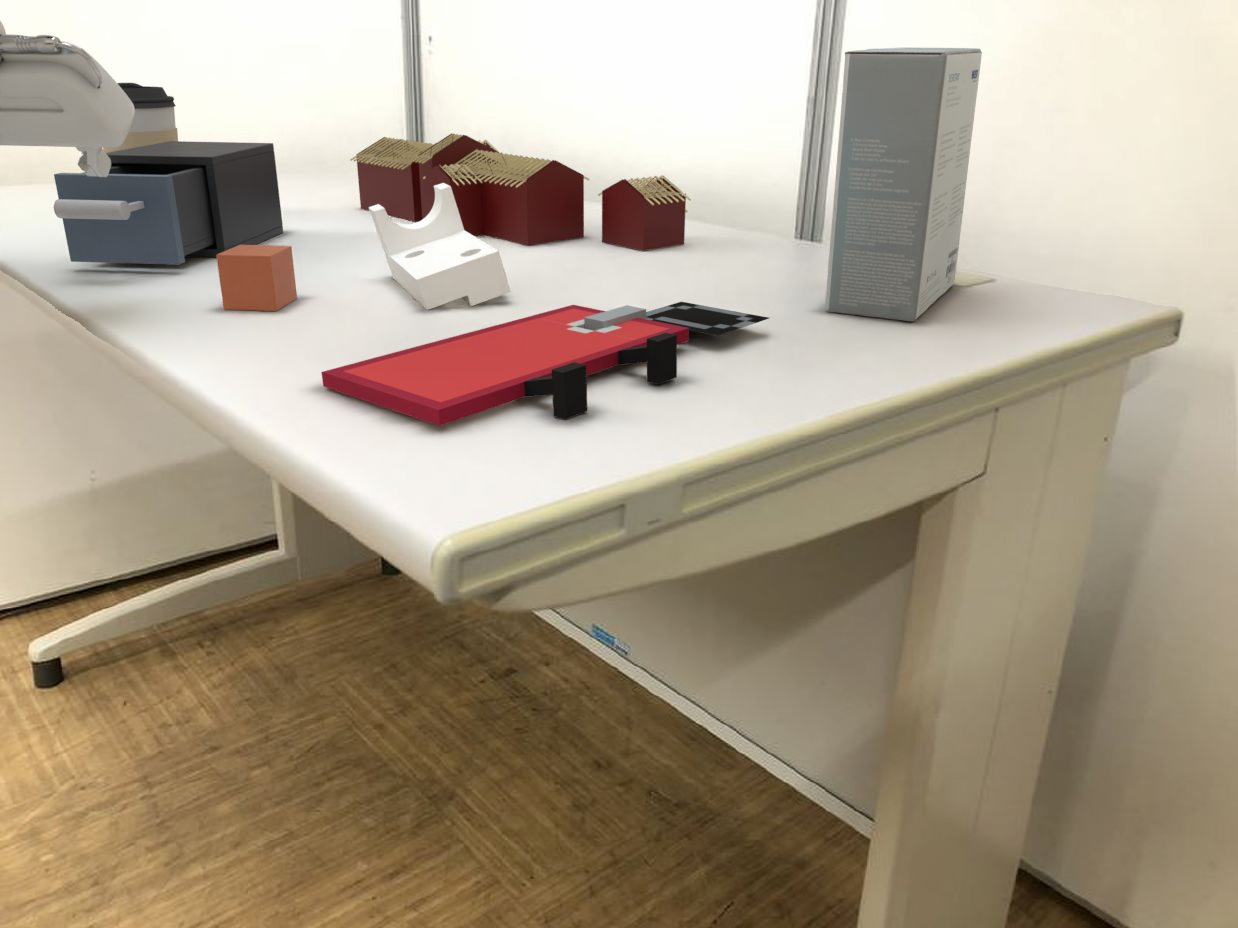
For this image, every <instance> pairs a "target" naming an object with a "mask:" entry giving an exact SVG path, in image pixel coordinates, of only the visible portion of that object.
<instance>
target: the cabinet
mask: <svg viewBox="0 0 1238 928" xmlns="http://www.w3.org/2000/svg"><path fill="white" fill-rule="evenodd" d="M274 147H275V146H274V143H273V142H232V141H230V142H229V141H227V142H226V141H179V140H178V141H169V142H164V143H158V144H153V145H147V146H142V147H136V148H130V149H125V150H119V151H114V152H108V153H106V154H107V155H108V157H109V158H110V160H111V167H113V166H118V165H122V164H165V165H206V172H207V179H208V186H209V193H210V200H211V208H212V215H213V222H214V229H215V236H216V243H215V244H213V245H210V246H208V247H205V248H203V249H200V250H198V251H195V252H193V253H190V254H188V255H185V256H184V257H186V258H187V257H189V258H191V257H192V258H195V257H196V258H217V257H216V255H217V254H219V253H222V252H224V251H226V250H229V249H231V248H234V247H236V246H238V245H259V244H260V243H262V242H266V241H267V240H270V239H272V238H274V237H277V236H278V235H280V234H283V233H284V227H283V225H284V224H283V216H282V207H281V199H280V191H279V181H278V172H277V165H276V164H277V163H276V156H275V148H274Z"/></svg>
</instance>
